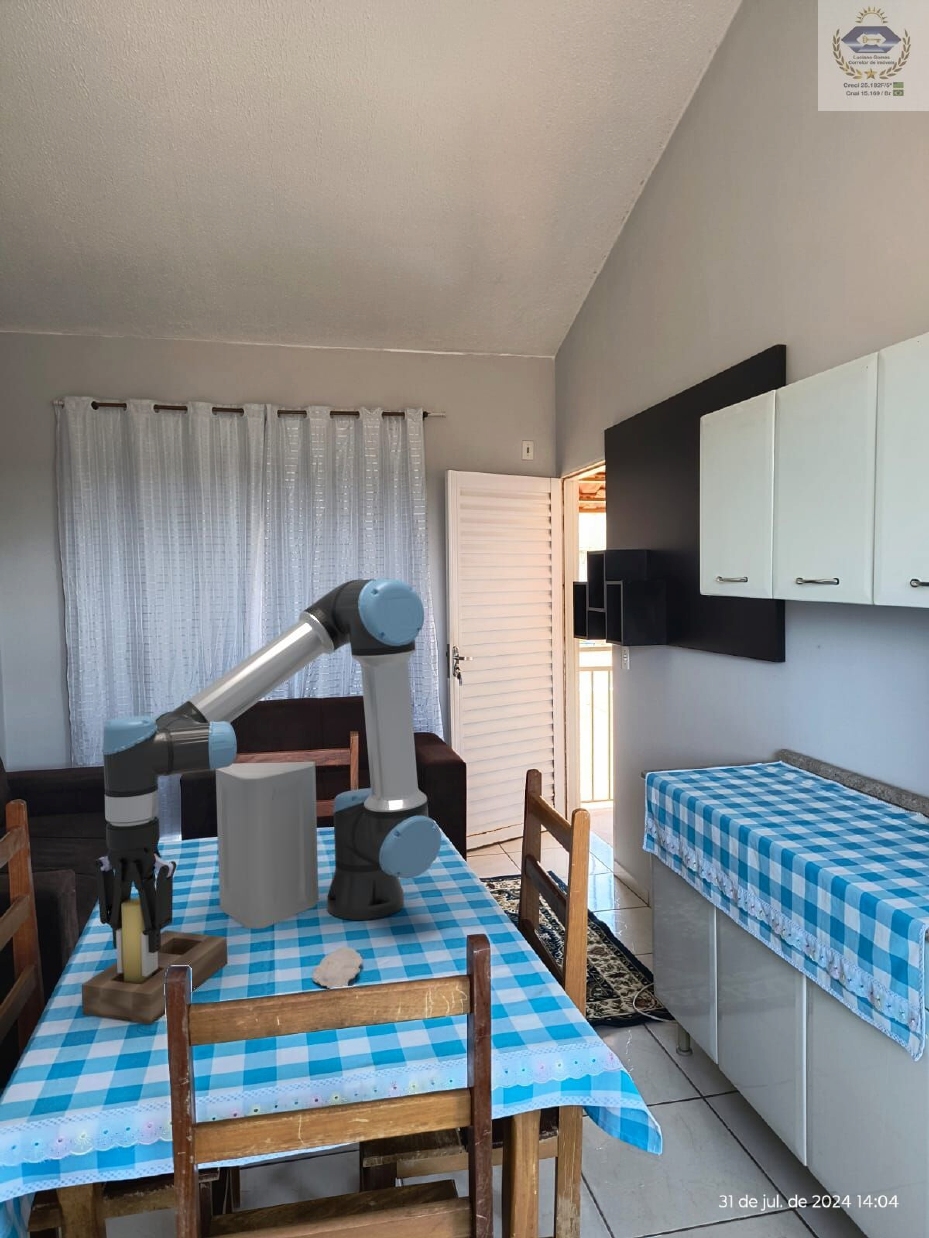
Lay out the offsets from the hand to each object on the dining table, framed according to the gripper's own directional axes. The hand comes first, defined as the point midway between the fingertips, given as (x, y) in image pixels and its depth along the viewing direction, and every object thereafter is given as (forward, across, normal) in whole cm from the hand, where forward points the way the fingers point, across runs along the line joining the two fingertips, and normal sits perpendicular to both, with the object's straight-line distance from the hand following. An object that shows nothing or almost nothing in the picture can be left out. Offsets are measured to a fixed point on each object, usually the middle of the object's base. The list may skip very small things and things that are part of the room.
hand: (137, 970), depth 125 cm
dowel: (+3, 0, 0) cm, 3 cm away
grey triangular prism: (+5, -1, -36) cm, 36 cm away
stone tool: (+6, -26, -16) cm, 31 cm away
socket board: (+5, 0, -5) cm, 7 cm away
